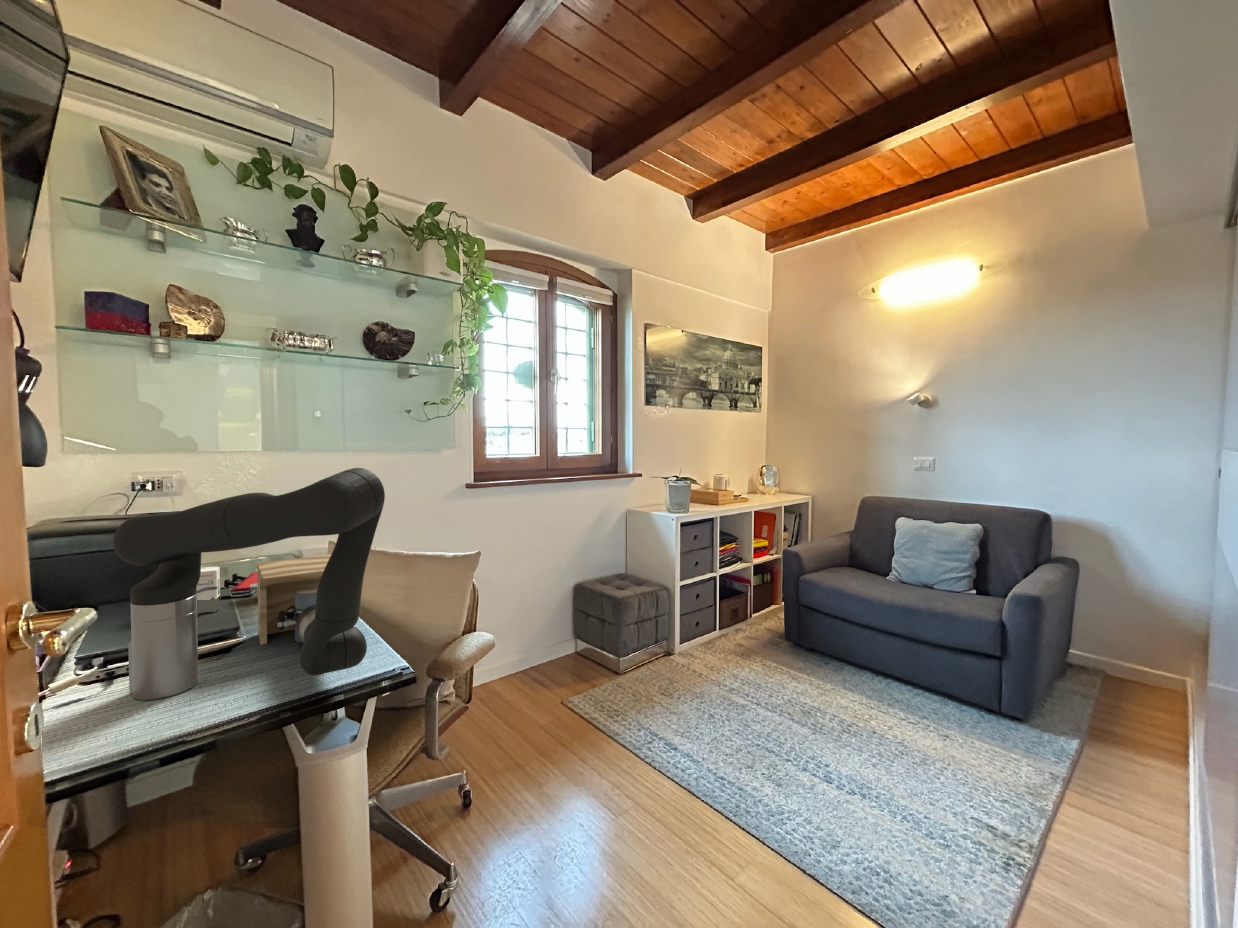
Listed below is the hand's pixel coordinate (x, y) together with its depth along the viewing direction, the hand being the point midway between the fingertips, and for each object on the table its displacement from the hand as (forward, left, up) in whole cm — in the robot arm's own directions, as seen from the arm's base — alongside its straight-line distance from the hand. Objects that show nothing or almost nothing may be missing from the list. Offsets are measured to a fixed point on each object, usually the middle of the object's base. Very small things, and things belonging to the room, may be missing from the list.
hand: (308, 606), depth 120 cm
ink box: (-44, +9, -8) cm, 46 cm away
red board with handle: (-54, +35, -9) cm, 65 cm away
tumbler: (+2, -2, -6) cm, 7 cm away
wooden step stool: (-2, +1, -8) cm, 8 cm away
